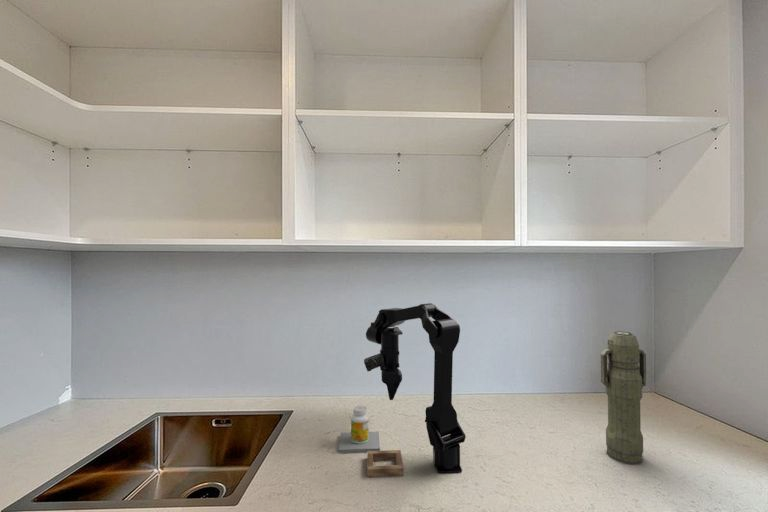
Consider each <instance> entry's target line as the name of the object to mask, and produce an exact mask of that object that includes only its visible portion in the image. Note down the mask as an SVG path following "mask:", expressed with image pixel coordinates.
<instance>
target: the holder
mask: <svg viewBox="0 0 768 512" xmlns="http://www.w3.org/2000/svg"><path fill="white" fill-rule="evenodd" d="M366 454H367V457H366V458H367V460H366V461H367V462H366V463H367V464H366V465H367V478H381V477H404V476H405V473H404V472H405V467H404V462H403V457H402V451H401V449H396V450H395V449H394V450H393V449H391V450H389V449H388V450H380V451H367V452H366ZM375 461H376V462H377V461H379V462H380V461H381V462H382V461H395V464H394V465H374V462H375Z"/></svg>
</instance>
